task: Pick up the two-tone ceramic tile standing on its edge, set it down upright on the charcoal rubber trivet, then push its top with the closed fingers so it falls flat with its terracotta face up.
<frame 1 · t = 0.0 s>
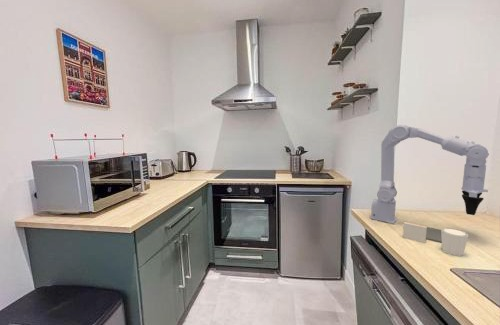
hand: (470, 211, 87), 10 cm above the worktop, tool pointing down, fingers open, 7 cm apart
trivet: (434, 235, 90), on the worktop
white short cylinder: (452, 251, 77), on the worktop
tile: (414, 239, 86), on the worktop
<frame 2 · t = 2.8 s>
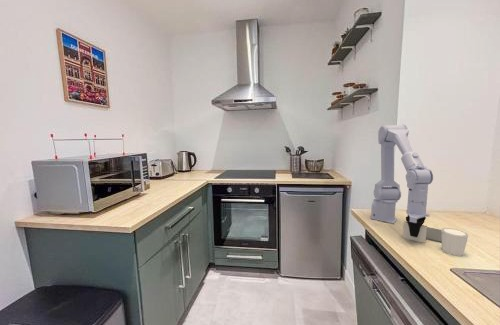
hand: (414, 235, 86), 2 cm above the worktop, tool pointing down, fingers closed on tile, 2 cm apart
tile: (414, 239, 86), on the worktop, touching gripper
everything else where it was.
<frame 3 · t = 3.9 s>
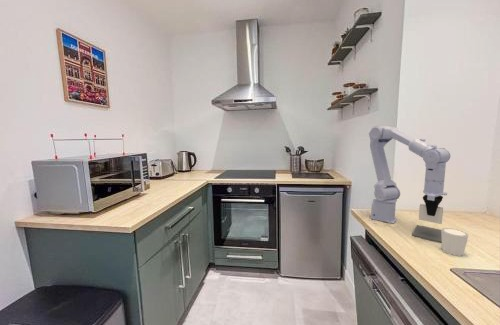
hand: (431, 214, 87), 9 cm above the worktop, tool pointing down, fingers closed on tile
tile: (429, 221, 88), point 6 cm above the worktop, touching gripper
everything else where it was.
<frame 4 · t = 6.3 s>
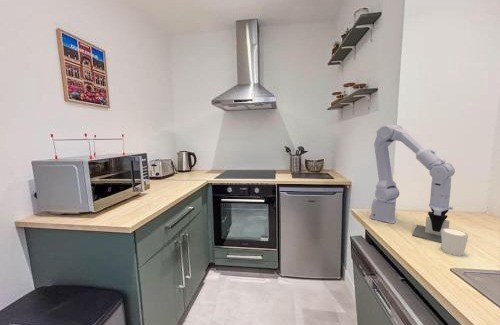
hand: (437, 228, 89), 3 cm above the worktop, tool pointing down, fingers open, 7 cm apart
tile: (436, 233, 89), point 1 cm above the worktop, touching trivet
everything else where it was.
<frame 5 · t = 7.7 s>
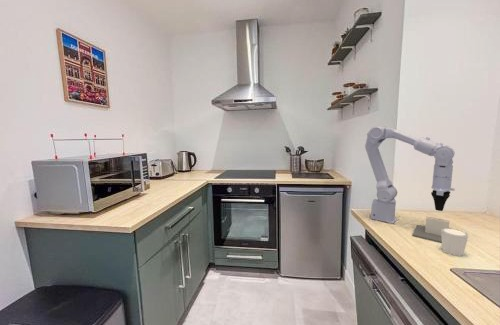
hand: (439, 209, 92), 9 cm above the worktop, tool pointing down, fingers open, 3 cm apart
nothing on the worktop moved.
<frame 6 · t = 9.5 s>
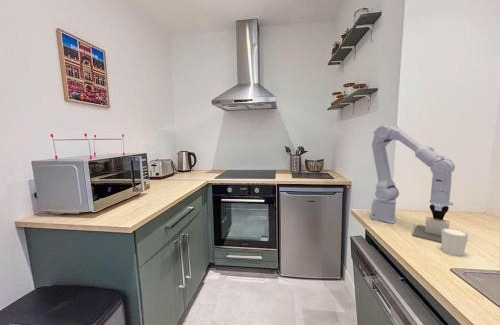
hand: (437, 223, 90), 4 cm above the worktop, tool pointing down, fingers closed
tile: (436, 233, 89), point 1 cm above the worktop, tilted 12°, touching trivet
everything else where it was.
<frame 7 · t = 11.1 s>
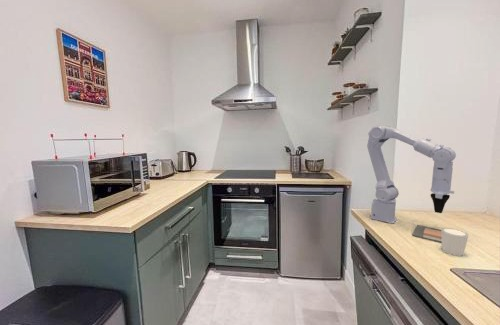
hand: (438, 212, 90), 9 cm above the worktop, tool pointing down, fingers closed
tile: (436, 232, 89), point 1 cm above the worktop, tilted 90°, touching trivet
everything else where it was.
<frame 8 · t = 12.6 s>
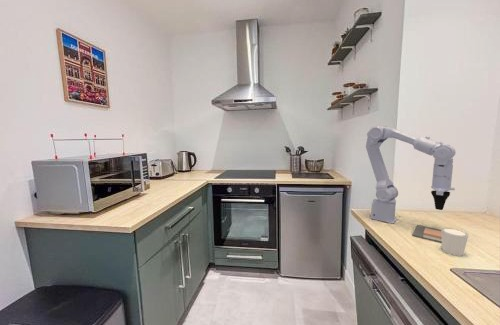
hand: (439, 209, 91), 10 cm above the worktop, tool pointing down, fingers closed
nothing on the worktop moved.
at the end: tile tilted 90°; tile inside the target area (0.6 cm from its centre), point 1.5 cm above the worktop; the gripper is holding nothing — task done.
